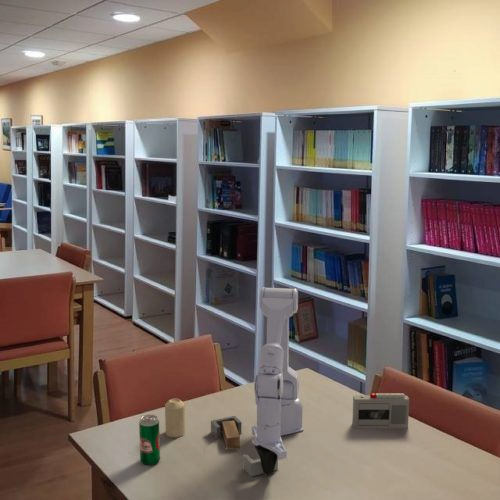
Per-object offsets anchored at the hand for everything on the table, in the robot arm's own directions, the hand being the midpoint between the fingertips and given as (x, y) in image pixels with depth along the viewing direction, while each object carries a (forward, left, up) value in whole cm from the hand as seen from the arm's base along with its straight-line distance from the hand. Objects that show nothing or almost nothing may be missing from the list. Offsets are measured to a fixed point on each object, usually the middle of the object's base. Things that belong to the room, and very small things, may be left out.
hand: (268, 472), depth 149 cm
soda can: (+24, -20, -1) cm, 31 cm away
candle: (+13, -32, -1) cm, 34 cm away
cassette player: (-42, -10, -2) cm, 43 cm away
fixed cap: (0, -26, -1) cm, 26 cm away
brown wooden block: (+1, -21, -2) cm, 21 cm away
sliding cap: (0, -4, -1) cm, 4 cm away
